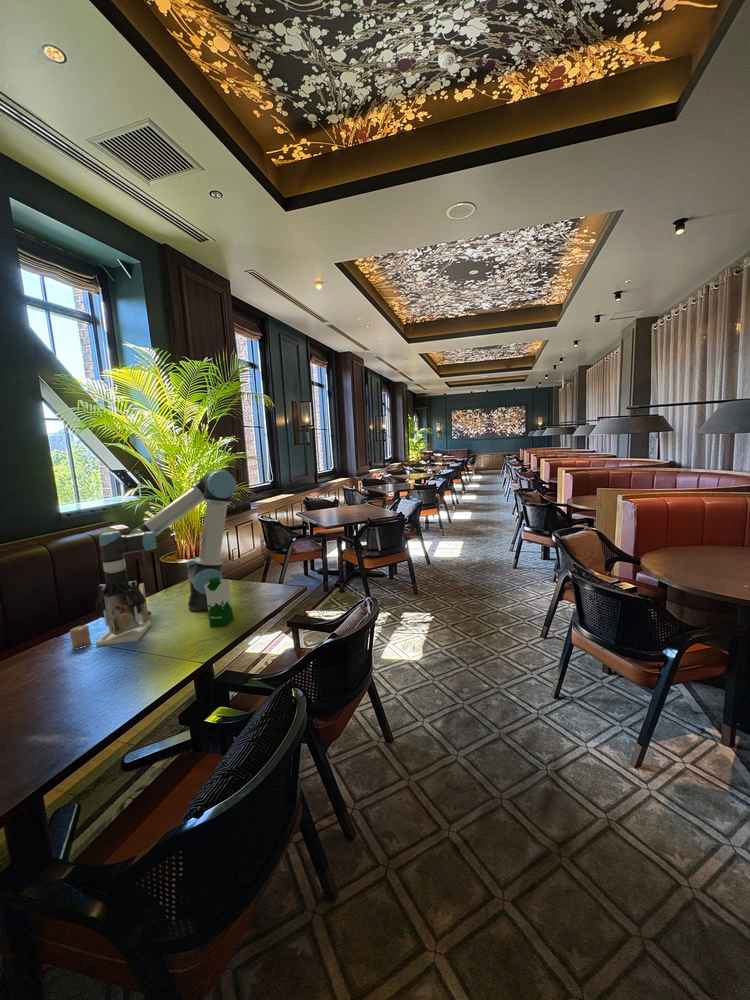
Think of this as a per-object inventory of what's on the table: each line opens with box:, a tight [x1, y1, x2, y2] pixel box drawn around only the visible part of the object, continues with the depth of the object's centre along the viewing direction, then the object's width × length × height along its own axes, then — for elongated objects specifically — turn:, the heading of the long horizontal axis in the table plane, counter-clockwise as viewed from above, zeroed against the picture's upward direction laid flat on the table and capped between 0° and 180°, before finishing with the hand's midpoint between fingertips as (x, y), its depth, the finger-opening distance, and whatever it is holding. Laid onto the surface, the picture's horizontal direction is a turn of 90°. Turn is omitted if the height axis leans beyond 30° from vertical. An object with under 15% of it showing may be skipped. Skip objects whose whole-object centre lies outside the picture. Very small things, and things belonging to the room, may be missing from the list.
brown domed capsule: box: [69, 624, 92, 649], centre depth 163 cm, size 6×6×7 cm
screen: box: [138, 582, 152, 623], centre depth 186 cm, size 4×18×14 cm, turn 28°
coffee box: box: [103, 588, 140, 635], centre depth 169 cm, size 9×6×16 cm
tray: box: [95, 620, 152, 647], centre depth 170 cm, size 15×15×2 cm
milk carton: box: [204, 578, 234, 628], centre depth 175 cm, size 9×9×20 cm
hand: (123, 622), depth 170 cm, fingers closed on coffee box, 11 cm apart
